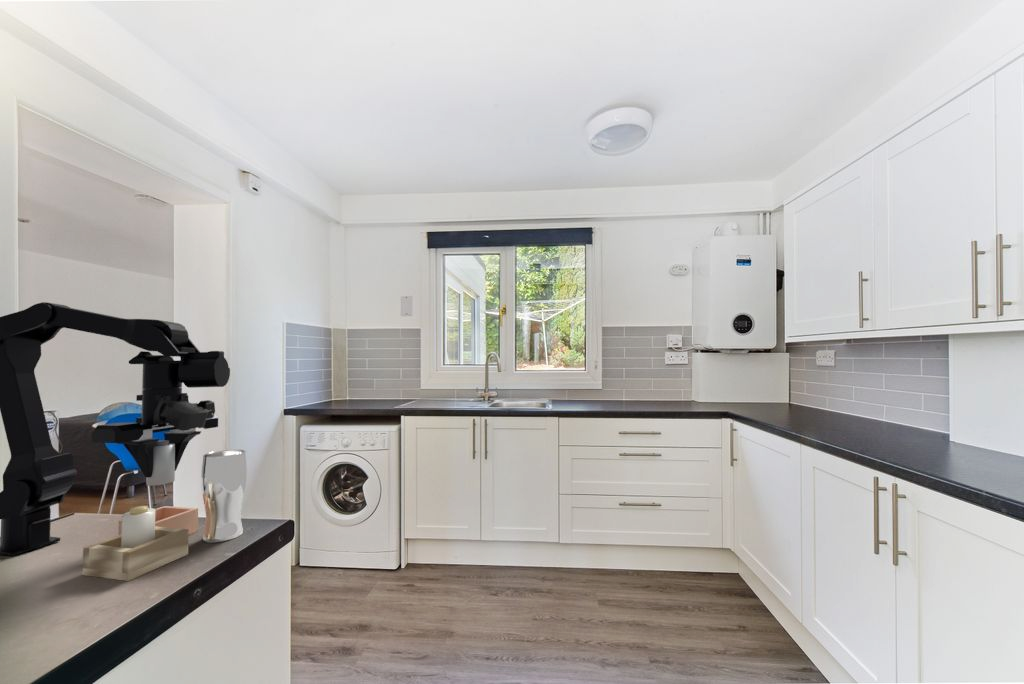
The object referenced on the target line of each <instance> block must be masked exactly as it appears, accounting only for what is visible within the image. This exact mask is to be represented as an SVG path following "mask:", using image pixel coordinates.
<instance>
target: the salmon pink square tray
mask: <svg viewBox="0 0 1024 684" xmlns="http://www.w3.org/2000/svg"><path fill="white" fill-rule="evenodd" d="M154 509H155V526H156V527H167V528H178V529H189V535H192V534H194V533H197V532H198V531H199V528H198V527H199V508H196V507H195V508H194V507H187V506H186V507H182V506H171V505H163V506H161V507H157V508H154ZM117 532H118V535H121V533H122V519H119V520H118V531H117ZM118 535H117V536H118Z"/></svg>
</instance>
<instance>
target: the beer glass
mask: <svg viewBox="0 0 1024 684" xmlns="http://www.w3.org/2000/svg"><path fill="white" fill-rule="evenodd" d="M246 452H247V451H246V450H245V449H226V450H225V449H224V450H218V451H217V450H216V451H211V452H210V451H209V452H207V453H204V454H203V455H202V464H201V475H200V488H201V496H202V501H203V505H204V511H205V528H204V531H203V535H202V540H203V542H205V543H208V544H209V543H210V544H214V543H221V542H222V543H223V542H226V541H230V540H234V539H236V538H239V537H240V536H241V535H243V532H244V529H243V524H242V517H241V515H242V513H241V512H242V504H243V500H244V496H245V492H246V485H247V474H248V473H247V455H246Z"/></svg>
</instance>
